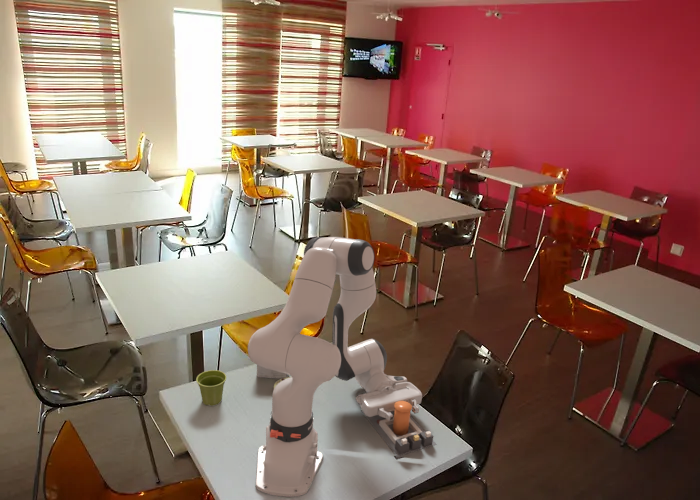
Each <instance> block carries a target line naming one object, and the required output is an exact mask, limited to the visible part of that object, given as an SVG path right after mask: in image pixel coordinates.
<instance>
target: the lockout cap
mask: <svg viewBox="0 0 700 500" xmlns="http://www.w3.org/2000/svg"><path fill="white" fill-rule="evenodd" d="M394 408H395V413H394V422H393V432H394V433H395V434H396V435H399V436H403V435H406V434H407V433H408V428H409V420H410V415H411V412H412V405H411V404H410V403H408V402H406V401H398V402H396V403H395V404H394Z"/></svg>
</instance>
